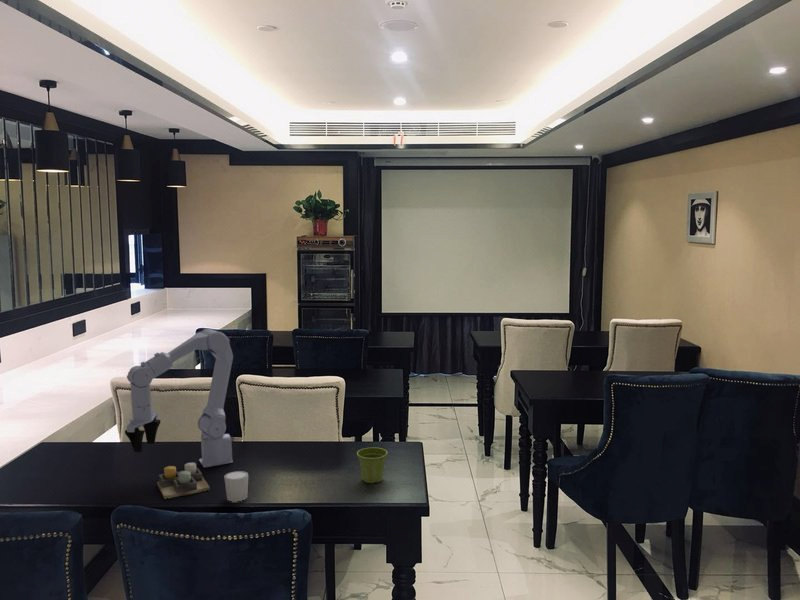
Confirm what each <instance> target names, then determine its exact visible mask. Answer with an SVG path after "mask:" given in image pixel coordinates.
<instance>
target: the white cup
mask: <svg viewBox="0 0 800 600" xmlns="http://www.w3.org/2000/svg"><path fill="white" fill-rule="evenodd" d="M223 476H224V477H223V478H224V484H225V492H226V499H227V501H228V500H229V501H232V502H231V503H238V502H237V501H241V502H243V501H242V500H244V501H246V500H247V499H248V490H249V489H248V488H249V487H248V486H249V473H248V472H247V471H243V470H241V471H240V470H236V471H231V472H227V473H226V474H224V475H223ZM246 498H247V499H246ZM245 499H246V500H245ZM229 501H228V502H229Z"/></svg>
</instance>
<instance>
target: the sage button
mask: <svg viewBox="0 0 800 600" xmlns="http://www.w3.org/2000/svg"><path fill="white" fill-rule="evenodd" d="M182 471H183V470H182ZM188 483H191V472H189V471H183V472H180V471H179V484H180V485H182V484H188Z"/></svg>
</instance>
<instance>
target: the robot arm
mask: <svg viewBox="0 0 800 600" xmlns="http://www.w3.org/2000/svg"><path fill="white" fill-rule="evenodd" d="M198 350H199V351H209V352H210V353H211V355H212V356H213V357H214V358H215V362H214V366H213V371H212V372H213V373H212V377H211V383H210V388H209V393H208V398H207V402H206V403H207V404H206V406H205V407H204V408H203V409H202V414H201V415H200V417H199V418H198V420H197V427H198V430H200V431H201V434H200V443H201V447H200V448H201V458H199V459H198V461H199V463H200V464H201V465H202V467H203V468H210V467H216V466H222V465H227V464H232V463H234V462H233V446H232V437H231V435H230V433H226V430H227V424H226V413H225V410H224V407H225V402H226V397H227V392H228V391H227V390H228V385H229V380H230V376H231V370H232V364H233V360H234V354H233V350H232V348H231V344H230V338H229V337H228V336H227V335H226V334H225V333H223V332H222V331H217V330H214V329H213V328H205V329H203V330H201V331H198V332H196V333H195V334H194V335H192V336H191V337H190V338H188V339H187V340H185V341H184V342H182V343H181V344H179V345H178V346H176V347H175V348H173V349H172V350H170V351H168V352H156V353H154V355H153V357H151V358H149V359H147V360H146V361H142V362H140V365H135V366H132V367H131V368H130V369H129V371H128V373H127V375H126V379H127V380H128V382H129V383H130V384H129V385H130V399H131V403H130V404H131V412H132V417H131V418H129V424H128V425H126V430H124V434H125V435H126V437H127V438H128V439H129V441H130V444H131V446H132V449H133V451H134V453H142V452H143V439H144V435H145V439H146V443H147V444H148V445H153V444H155V442H156V438H157V433H158V430H159V427H160V425H161V419H158V418H159V414H158V413H159V412H157V411H153V407H152V405H153V404H152V395H151V394H152V393H151V383H152V381H153V379H155V378H157V377H158V376H160V375H163V374H164V373H165V372H168V370H170V369H171V368H172V367H173V365H174V362H176V361H178V360H180V359H181V358H183V357H186V356H187V355H190V354H191V353H193V352H195V351H198ZM141 427H143V429H142V430H141V429H140V428H141Z"/></svg>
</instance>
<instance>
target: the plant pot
mask: <svg viewBox="0 0 800 600" xmlns="http://www.w3.org/2000/svg"><path fill="white" fill-rule="evenodd" d="M356 456H357V457H358V460H359V464H360V465H359V466H360V471H361V478H362V481H363V482H364V483H367V484H368V483H369V484H374V483H380V482H382V481H383V477H384V468H385V463H386V459H387V456H388V450H386V449H384V448H382V447H366V448H361V449H359V450H358V451H357V452H356Z"/></svg>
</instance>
